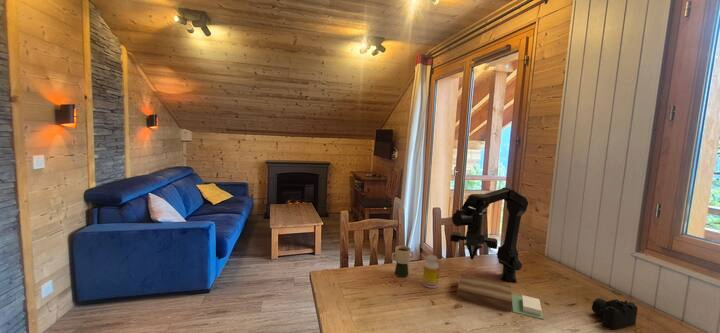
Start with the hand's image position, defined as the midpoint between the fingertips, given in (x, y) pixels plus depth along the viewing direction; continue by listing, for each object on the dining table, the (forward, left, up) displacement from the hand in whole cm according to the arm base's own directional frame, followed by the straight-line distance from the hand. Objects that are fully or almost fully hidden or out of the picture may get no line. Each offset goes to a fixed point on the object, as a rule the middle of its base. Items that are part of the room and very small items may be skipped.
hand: (471, 259), depth 130 cm
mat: (+5, +22, -13) cm, 26 cm away
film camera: (0, +50, -13) cm, 51 cm away
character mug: (+3, -30, -13) cm, 33 cm away
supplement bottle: (+6, -16, -13) cm, 22 cm away
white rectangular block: (+5, +23, -11) cm, 26 cm away
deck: (+5, +6, -13) cm, 15 cm away
